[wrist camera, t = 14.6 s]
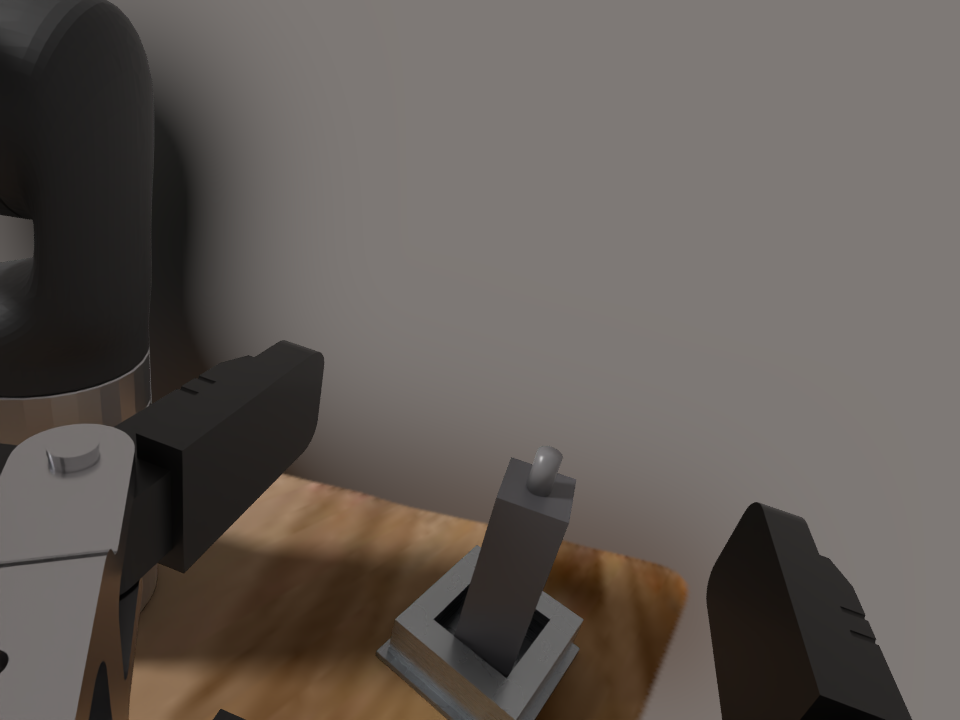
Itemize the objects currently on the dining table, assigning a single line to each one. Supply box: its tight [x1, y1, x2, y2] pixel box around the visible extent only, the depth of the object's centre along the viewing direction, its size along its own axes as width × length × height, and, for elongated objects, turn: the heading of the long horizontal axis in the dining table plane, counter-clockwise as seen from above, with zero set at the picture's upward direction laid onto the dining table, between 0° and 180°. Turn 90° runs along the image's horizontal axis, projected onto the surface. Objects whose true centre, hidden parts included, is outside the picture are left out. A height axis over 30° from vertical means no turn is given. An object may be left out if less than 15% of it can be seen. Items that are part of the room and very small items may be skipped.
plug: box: [454, 446, 576, 678], centre depth 34 cm, size 4×4×16 cm
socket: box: [376, 545, 583, 720], centre depth 37 cm, size 10×10×3 cm
